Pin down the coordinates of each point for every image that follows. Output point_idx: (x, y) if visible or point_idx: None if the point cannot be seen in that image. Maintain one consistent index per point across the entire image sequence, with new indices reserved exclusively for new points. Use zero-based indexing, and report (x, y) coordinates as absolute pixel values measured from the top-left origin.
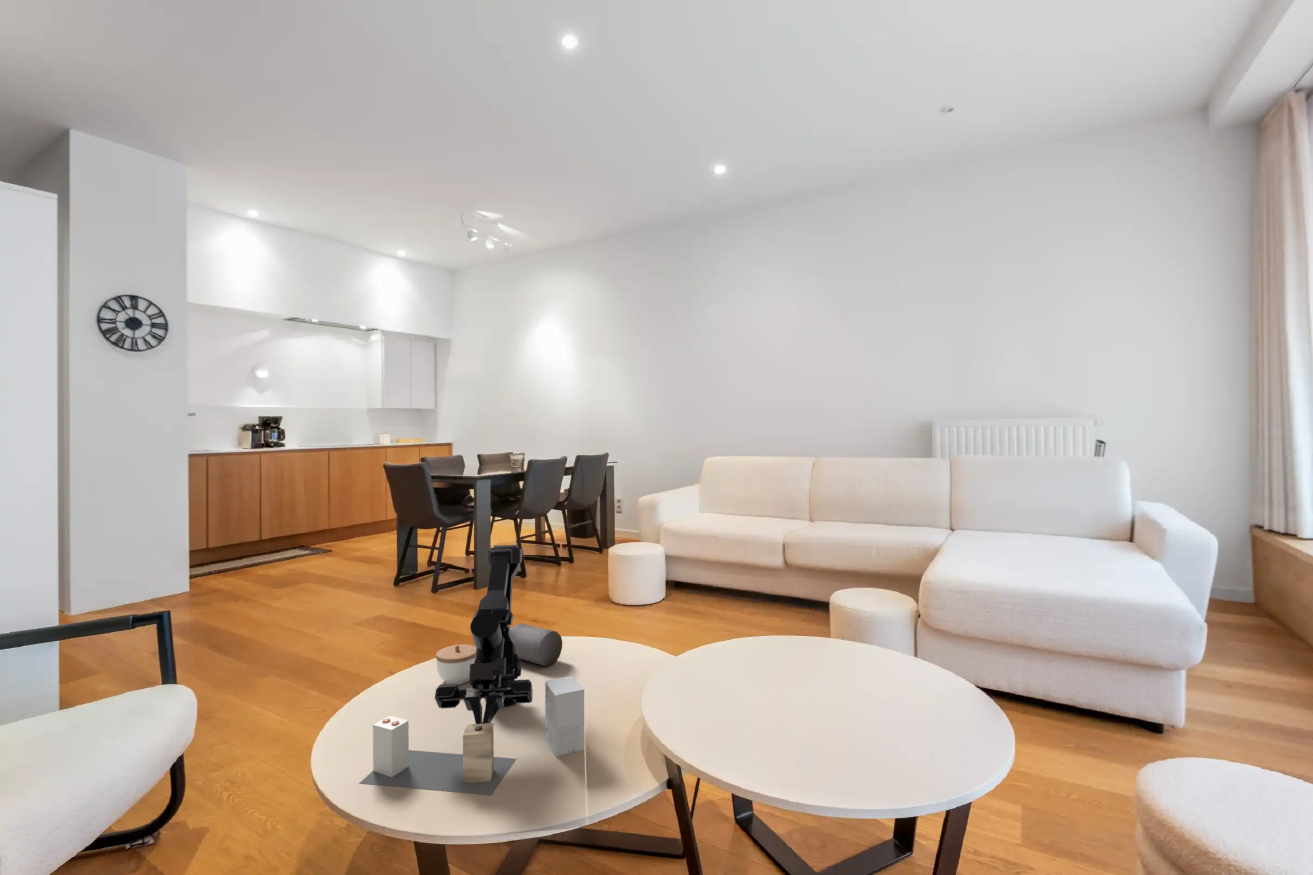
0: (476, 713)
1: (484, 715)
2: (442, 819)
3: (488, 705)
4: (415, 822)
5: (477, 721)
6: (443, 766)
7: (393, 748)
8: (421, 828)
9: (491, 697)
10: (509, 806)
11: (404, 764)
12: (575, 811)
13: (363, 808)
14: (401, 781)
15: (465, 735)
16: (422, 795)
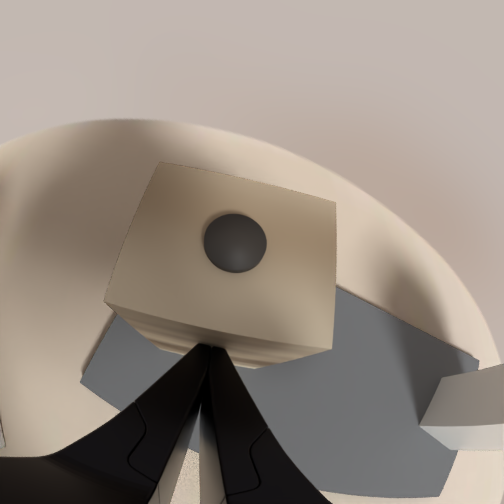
0: (262, 463)
1: (172, 429)
2: (301, 187)
3: (106, 490)
4: (352, 201)
5: (241, 409)
6: (334, 416)
7: (496, 370)
8: (336, 180)
9: (3, 501)
10: (150, 175)
11: (433, 412)
12: (54, 136)
13: (449, 283)
14: (422, 354)
15: (319, 198)
16: (365, 293)
